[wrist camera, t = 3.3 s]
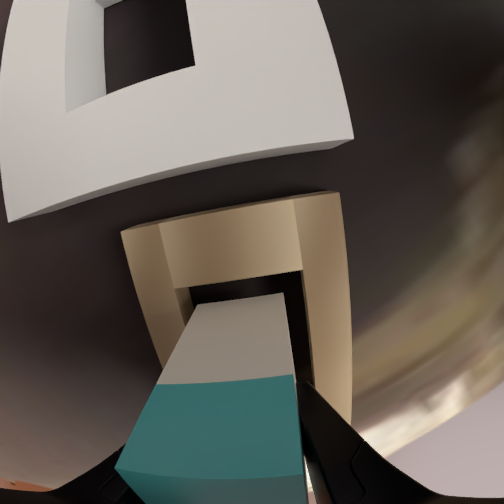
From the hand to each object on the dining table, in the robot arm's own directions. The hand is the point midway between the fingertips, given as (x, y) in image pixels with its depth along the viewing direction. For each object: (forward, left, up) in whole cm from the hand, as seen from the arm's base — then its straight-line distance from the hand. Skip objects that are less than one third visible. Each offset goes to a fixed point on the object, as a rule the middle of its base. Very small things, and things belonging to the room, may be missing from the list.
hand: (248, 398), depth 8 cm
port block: (+2, -13, -4) cm, 14 cm away
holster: (0, 0, -4) cm, 4 cm away
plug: (0, 0, -2) cm, 2 cm away
